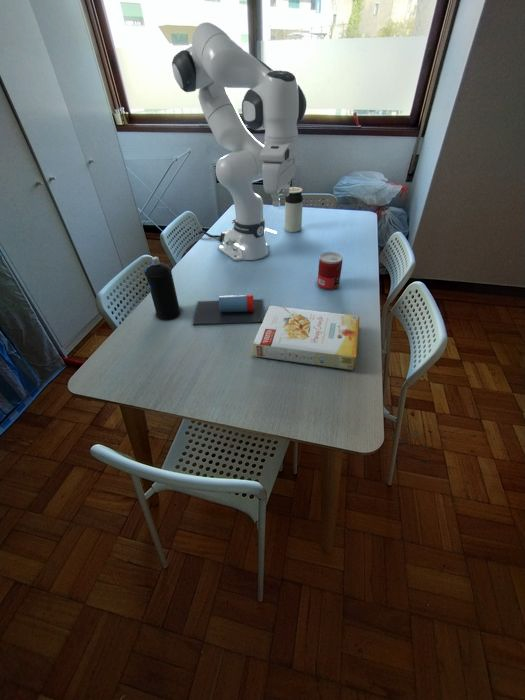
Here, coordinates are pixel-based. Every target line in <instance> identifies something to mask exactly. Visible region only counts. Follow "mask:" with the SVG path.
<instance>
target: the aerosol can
mask: <svg viewBox="0 0 525 700" xmlns="http://www.w3.org/2000/svg"><path fill="white" fill-rule="evenodd" d="M159 258H160V257H159V256H152V257H151V261H152V263H151V264H149V265H148V266H147V267H146V269H145V270H144V272H143V273H144V275H145V277H146V280H147V285H148V288H149V292H150V296H151V299H152V303H153V306H154V310H155V317H156V318H157V319H159V320H161V321H171V320H173V319H176V318H178V317H179V316H180V315H181V312H182V310H181V308H180V304H179V300H178V295H177V291H176V290H177V289H176V286H175V282H174V277H173V272H172V271H173V269H172V266H170V265H169V264H166V263H164V262H161V261H160V259H159Z"/></svg>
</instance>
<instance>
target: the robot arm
mask: <svg viewBox="0 0 525 700" xmlns="http://www.w3.org/2000/svg"><path fill="white" fill-rule="evenodd" d="M171 67H172V73H173V77H174V79H175V81H176V83H177V85H178V86H179V88H180V89H181V91H183V92H185V93H192V92H196V91H197V90H198V94H197V95H198V97H197V99H198V101H199V105H200V108H201V111H202V113H203V115H204V118H205V120H206V122H207V124H208V127H209V129H210V130H211V132H212V134H213V136H214V138H215V140H216V142H217V144H218V145H219V146H220V147H222V148H223V149H226V150H228V151H230V152H229V153H228V154H226V155H224V156H223V157H220V158H219V159H218V160H216V164H215V176H216V179H217V181H218V182H219V184H220V185H221V186H222V187H224V188H225V189H226V190H228V192H229V193H230V196H231V197H232V200H233V205H234V212H235V219H233V220H231V224H233V227H232V228H229V229H226V230H224V231H222V232H220V235H219V234H217V235H214V234H210V233H208V232H207V231H205V230H200V231H199V232H198V234H199V235H201V234H204V235H205V236H208V237H209V238H213V239H214V238H215V239H216V238H218V239H219V241H220V242H222V243H221V244H220V245H219V247H218V249H219V250H220V252H222V253H224V254H225V255H227V256H228V257H229V258H231V259H232V260H234V261H236V262H237V261H238V262H239V261H256V260H261V259H262V258H265V257H266V256H268V254H269V250H268V246H269V245H268V243H267V238H266V232H270V233H273V234H277V233H278V232H277V231H276V230H273V229H270V228H267V227H266V226H265V225H266V221H265V218H264V199H263V198H262V197H261V195H259V194H258V193H256V192H255V191H254V188H253V183H255V182H259V181H262V182H263V183H262V184H263V190H264V192H265V193H266V194H269V195H270V196H271V199H272V206H273V207H274V208H275V207H276V208H278V207H280V205H281V198H280V191H281V192H282V193H281V194H282V197H286V196H288V195H289V189H290V187H291V183H292V179H294V177H295V176H296V174H297V156H298V149H299V147H298V145H299V131H298V126H299V124H300V123H301V121H302V120H303V118H304V116H305V114H306V112H307V111H306V110H307V98H306V94H305V93H304V90H303V89H302V88H301V86H300V85H299V84H298V79H297V76H296V75H295V74H294V73H292V72H290V71H287V70H279V69H278V70H277V69H275V70H274V69H272V68H271V67H270V66H269V65H267V64H266V63H265V62H264V61H262V60H260V59H259V58H257V57H256V56H254V55H253V54H251V53H249V52H248V51H247V50H245V49H244V48H242V47H241V46H240V45H239V44H237V43H236V42H235V41H234V40H233V39H231V37H230V35H228V34H227V33H226V32H225V31H224V30H223V29H221V28H220V27H219V26H217V25H215V24H213V23H212V22H202V23H199V24H198V25H197V27H195V29H194V31H193V33H192V36H191V46H189V47H188V48H186V49H182V50H180V51H179V52H178V53H176V54H175V55H174V56H173V58H172V61H171ZM227 88H229V89H248V90H247V91H246V92H245V94H244V96H243V98H242V102H241V113H242V118H241V117H240V114H239V113H238V110H237V108H236V106H235V104H234V102H233V100H232V99H231V97H230V95H229V93H228V91H227ZM242 119H243V120H242ZM244 123H245V124H246V126H247V127H248V128H249V129H251V130H255V131H262V130H263V131H265V132H264V143H261V142H260V141H259V140H257V138H255V136H254V135H253V134H252V133H251V132H250V131H249V130H248V129H247V127H246V126H245V124H244Z"/></svg>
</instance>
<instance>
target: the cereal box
mask: <svg viewBox="0 0 525 700" xmlns="http://www.w3.org/2000/svg"><path fill="white" fill-rule="evenodd" d="M360 317H361V316H360V315H354V314H345V313H337V312H328V311H319V310H311V309H303V308H294V307H285V306H276V305H269V306H268V308H267V311H266V313H265V316H264V318H263V319H262V323H261V325H260V327H259V329H258V332H257V334H256V336H255V339H254V341H253V356H254V357H258V358H263V359H265V358H266V359H272V360H277V361H278V360H280V361H285V362H286V361H287V362H292V363H300V364H306V365H307V364H308V365H315V366H322V367H329V368H336V369H342V370H349V371H353V370H355V367H356V363H357V358H358V357H357V356H358V347H359V331H360V329H359V328H360Z"/></svg>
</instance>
